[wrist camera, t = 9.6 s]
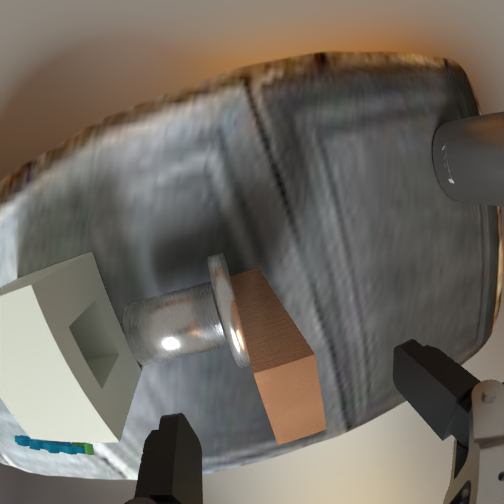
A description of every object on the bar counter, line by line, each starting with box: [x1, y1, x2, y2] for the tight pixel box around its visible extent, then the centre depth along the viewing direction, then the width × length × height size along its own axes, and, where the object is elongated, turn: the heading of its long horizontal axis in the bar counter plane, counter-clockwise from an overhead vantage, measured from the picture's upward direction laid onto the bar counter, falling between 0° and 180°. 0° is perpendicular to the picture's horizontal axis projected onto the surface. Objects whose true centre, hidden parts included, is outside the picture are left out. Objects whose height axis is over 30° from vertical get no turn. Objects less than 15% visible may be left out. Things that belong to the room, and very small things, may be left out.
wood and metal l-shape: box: [123, 253, 326, 445], centre depth 15 cm, size 9×8×14 cm
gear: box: [15, 435, 94, 455], centre depth 21 cm, size 11×6×10 cm
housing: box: [0, 251, 142, 443], centre depth 17 cm, size 10×12×10 cm
